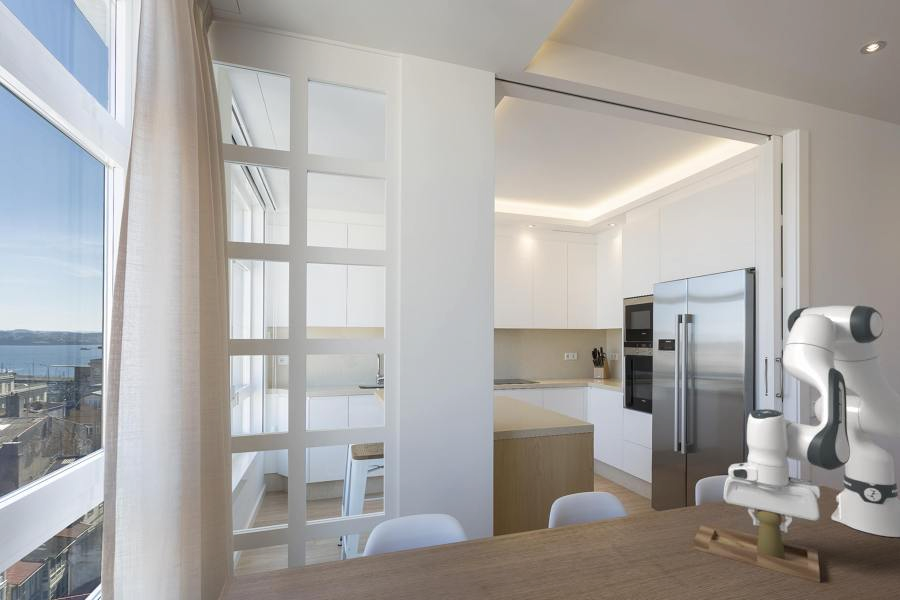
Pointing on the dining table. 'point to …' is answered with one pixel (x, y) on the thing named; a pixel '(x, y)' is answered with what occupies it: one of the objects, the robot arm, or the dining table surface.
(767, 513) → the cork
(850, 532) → the dining table surface
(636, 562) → the dining table surface
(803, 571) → the keyhole board
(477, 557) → the dining table surface
